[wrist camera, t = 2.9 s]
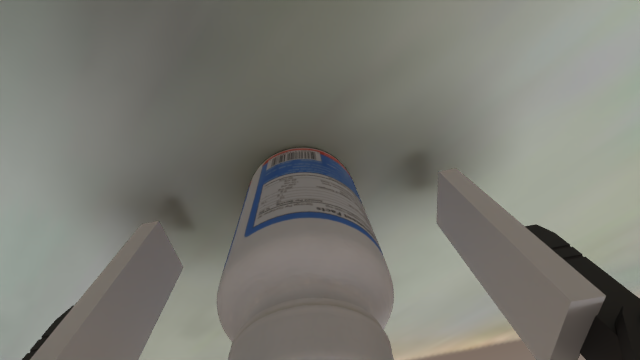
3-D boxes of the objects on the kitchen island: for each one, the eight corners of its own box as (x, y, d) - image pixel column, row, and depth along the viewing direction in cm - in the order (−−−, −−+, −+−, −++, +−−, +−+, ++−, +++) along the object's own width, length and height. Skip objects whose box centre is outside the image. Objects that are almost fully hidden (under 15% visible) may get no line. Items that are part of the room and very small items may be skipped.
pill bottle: (314, 248, 17) (331, 483, 8) (231, 205, 15) (137, 445, 6) (376, 179, 15) (486, 388, 6) (288, 121, 13) (269, 296, 4)
